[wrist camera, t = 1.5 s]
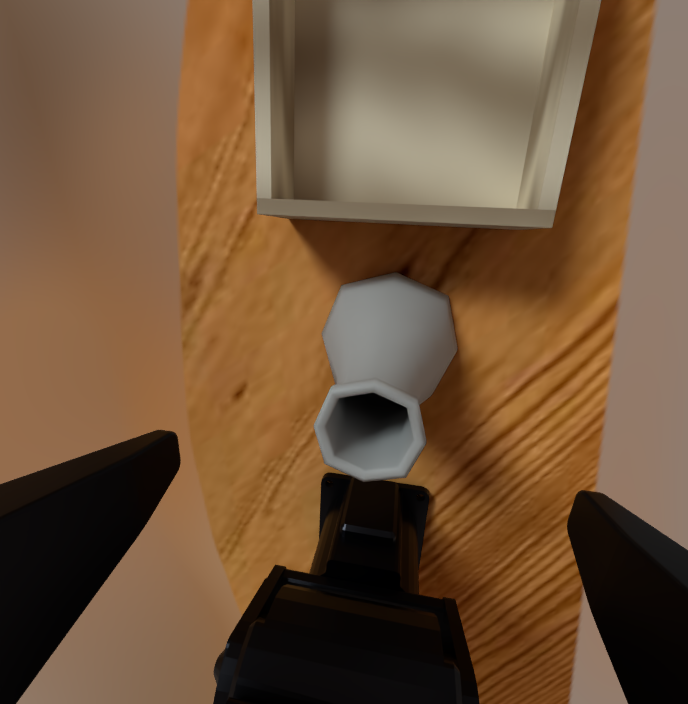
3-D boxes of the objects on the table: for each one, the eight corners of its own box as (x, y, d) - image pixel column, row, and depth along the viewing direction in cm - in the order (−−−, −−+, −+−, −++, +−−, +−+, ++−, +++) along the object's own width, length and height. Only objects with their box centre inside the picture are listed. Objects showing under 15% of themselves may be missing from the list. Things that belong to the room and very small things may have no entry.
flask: (469, 278, 18) (535, 325, 9) (445, 409, 20) (477, 560, 11) (326, 265, 19) (245, 293, 10) (319, 391, 21) (247, 515, 12)
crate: (520, 229, 17) (552, 227, 13) (287, 218, 18) (257, 213, 15) (581, -91, 13) (648, -218, 10) (288, -70, 15) (248, -172, 11)
